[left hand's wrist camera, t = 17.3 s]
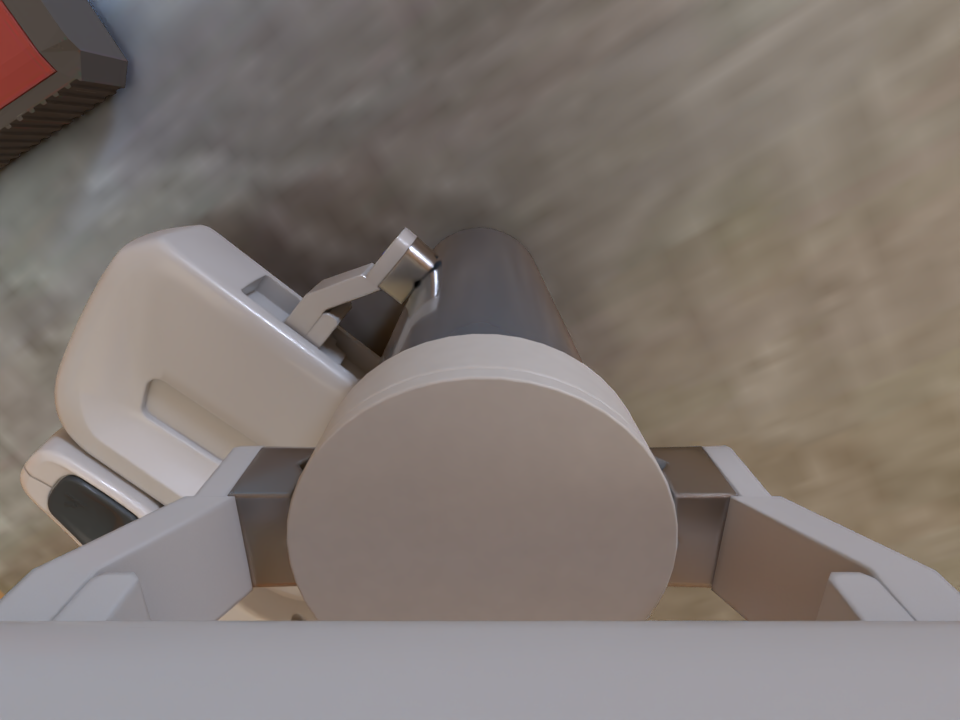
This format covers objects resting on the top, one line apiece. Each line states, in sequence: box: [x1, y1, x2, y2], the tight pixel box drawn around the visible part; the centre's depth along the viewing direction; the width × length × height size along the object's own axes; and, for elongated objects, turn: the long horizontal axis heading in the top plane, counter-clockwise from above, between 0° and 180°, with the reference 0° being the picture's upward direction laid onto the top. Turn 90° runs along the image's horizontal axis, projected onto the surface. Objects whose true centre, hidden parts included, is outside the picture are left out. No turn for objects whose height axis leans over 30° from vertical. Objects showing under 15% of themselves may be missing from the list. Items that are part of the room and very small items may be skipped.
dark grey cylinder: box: [377, 228, 583, 366], centre depth 16 cm, size 5×5×16 cm
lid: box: [287, 334, 678, 621], centre depth 9 cm, size 6×6×2 cm
